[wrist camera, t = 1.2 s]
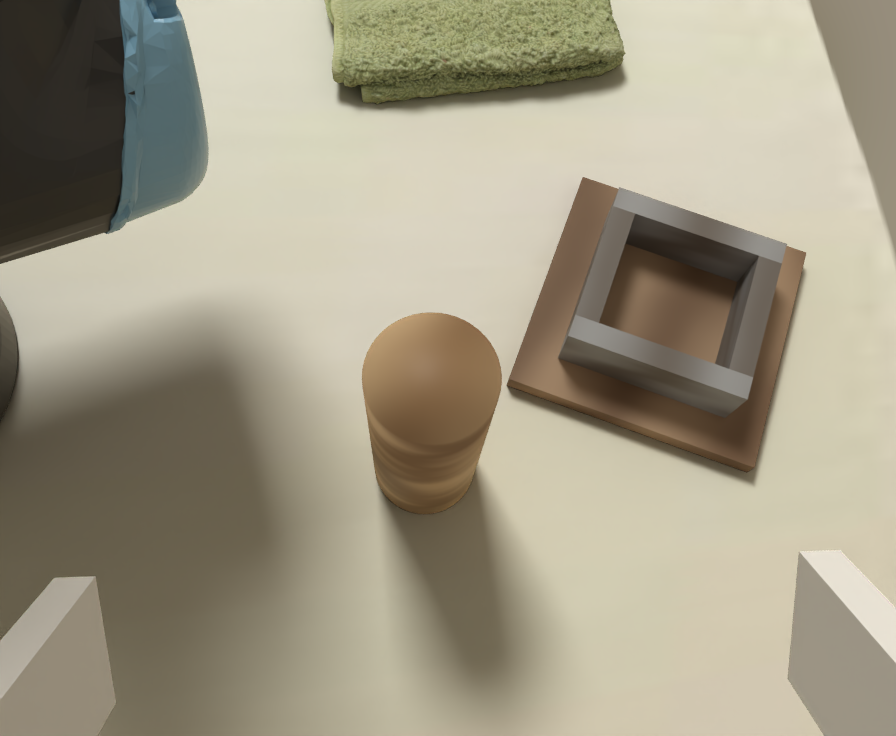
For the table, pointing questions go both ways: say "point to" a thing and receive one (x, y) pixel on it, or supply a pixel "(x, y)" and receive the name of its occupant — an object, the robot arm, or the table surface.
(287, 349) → the table surface
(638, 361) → the socket board
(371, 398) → the oak pin
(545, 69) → the washcloth
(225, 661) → the table surface
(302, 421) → the table surface
